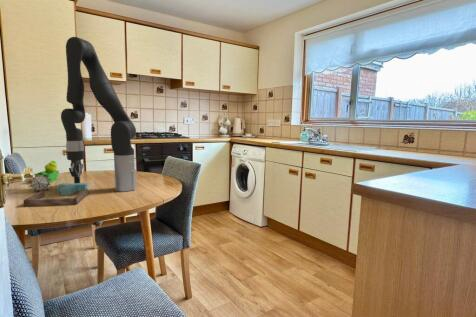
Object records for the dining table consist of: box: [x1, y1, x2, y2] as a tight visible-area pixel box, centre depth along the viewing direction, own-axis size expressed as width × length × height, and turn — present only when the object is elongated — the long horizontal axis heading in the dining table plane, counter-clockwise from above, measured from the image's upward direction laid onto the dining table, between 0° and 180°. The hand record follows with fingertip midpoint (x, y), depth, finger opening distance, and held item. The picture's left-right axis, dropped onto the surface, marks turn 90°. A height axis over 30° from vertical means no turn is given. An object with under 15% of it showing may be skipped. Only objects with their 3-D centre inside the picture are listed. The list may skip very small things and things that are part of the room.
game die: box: [28, 172, 51, 192], centre depth 134 cm, size 9×8×10 cm
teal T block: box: [56, 182, 89, 196], centre depth 133 cm, size 12×11×3 cm
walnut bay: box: [22, 188, 89, 208], centre depth 120 cm, size 19×15×2 cm
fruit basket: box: [33, 160, 60, 184], centre depth 153 cm, size 11×9×11 cm
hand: (77, 184), depth 143 cm, fingers closed
